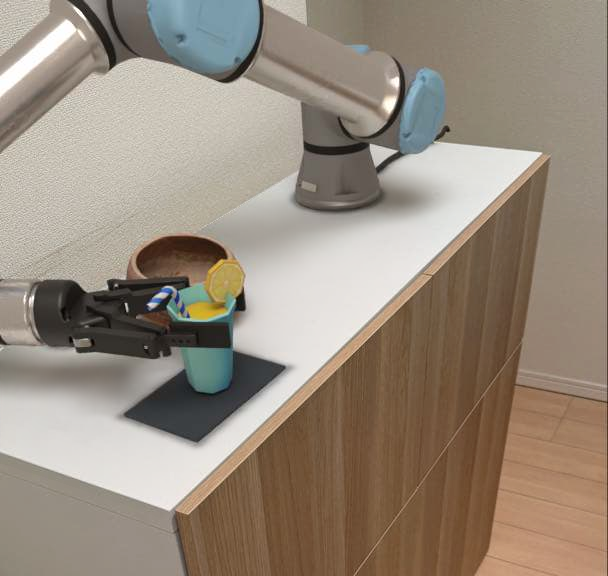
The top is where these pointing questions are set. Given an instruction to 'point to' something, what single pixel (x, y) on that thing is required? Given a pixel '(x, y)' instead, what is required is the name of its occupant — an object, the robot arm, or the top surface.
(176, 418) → the placemat
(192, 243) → the bowl
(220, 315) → the cup
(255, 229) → the top surface
